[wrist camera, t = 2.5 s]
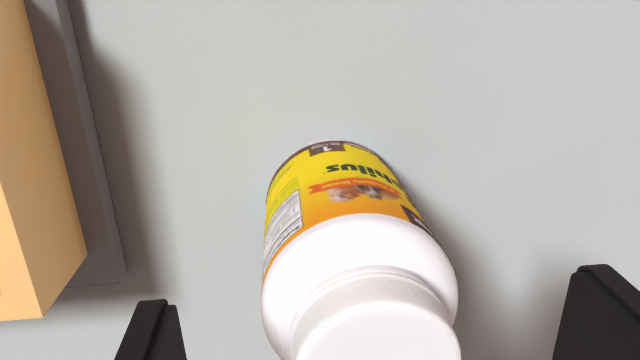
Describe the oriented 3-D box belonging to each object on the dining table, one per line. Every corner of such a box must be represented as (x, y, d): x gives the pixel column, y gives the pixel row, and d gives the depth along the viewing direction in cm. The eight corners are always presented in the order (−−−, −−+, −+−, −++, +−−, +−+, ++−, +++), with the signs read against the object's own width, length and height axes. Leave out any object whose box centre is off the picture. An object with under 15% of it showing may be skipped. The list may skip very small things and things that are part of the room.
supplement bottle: (419, 176, 20) (547, 339, 11) (345, 271, 22) (401, 487, 12) (312, 107, 19) (351, 227, 9) (241, 214, 20) (211, 412, 11)
